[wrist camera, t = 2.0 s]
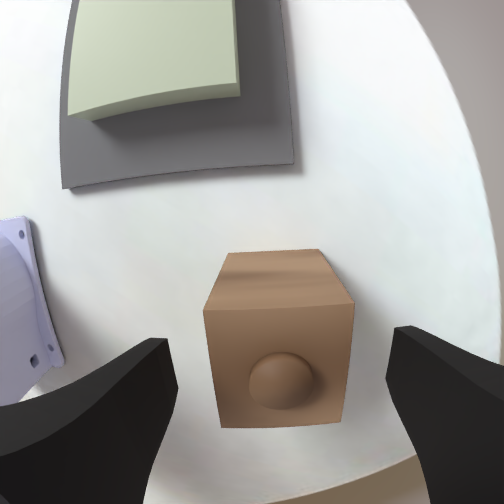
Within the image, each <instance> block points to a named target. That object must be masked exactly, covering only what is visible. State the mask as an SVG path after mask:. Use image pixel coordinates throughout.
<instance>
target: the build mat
mask: <svg viewBox="0 0 504 504" xmlns="http://www.w3.org/2000/svg"><path fill="white" fill-rule="evenodd" d="M79 1H80V0H72V5H71V10H70V15H69V20H68V26H67V33H66V39H65V47H64V55H63V65H62V76H61V91H60V164H61V180H62V189H68V188H73V187H78V186H84V185H89V184H95V183H101V182H107V181H114V180H120V179H127V178H134V177H141V176H149V175H157V174H165V173H174V172H183V171H193V170H204V169H215V168H228V167H242V166H259V165H281V164H294V157H293V141H292V126H291V112H290V99H289V86H288V75H287V64H286V54H285V44H284V35H283V26H282V17H281V8H280V0H235V10H236V28H237V45H238V62H239V79H240V96H237V97H225V98H215V99H206V100H198V101H190V102H183V103H177V104H170V105H164V106H158V107H153V108H147V109H142V110H137V111H132V112H127V113H123V114H118V115H114V116H110V117H106V118H102V119H98V120H94V121H88V120H84V119H80V118H76V117H71V116H68V90H69V74H70V62H71V52H72V44H73V36H74V29H75V23H76V17H77V11H78V6H79Z"/></svg>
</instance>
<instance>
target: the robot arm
mask: <svg viewBox="0 0 504 504" xmlns="http://www.w3.org/2000/svg"><path fill="white" fill-rule="evenodd" d="M23 232H24V234H25V237H24V235H23ZM52 346H53V347H52ZM63 365H64V358H63V355H62V353H61V350H60V347H59V344H58V341H57V338H56V335H55V332H54V329H53V326H52V322H51V319H50V316H49V312H48V309H47V305H46V301H45V298H44V294H43V290H42V286H41V281H40V277H39V273H38V268H37V263H36V258H35V253H34V248H33V242H32V236H31V229H30V223H29V220H28V218H27V217H25V216H20V217H15V218H10V219H4V220H0V504H143V500H144V496H145V491H146V487H147V483H148V478H149V475H150V472H151V469H152V465H153V463H154V460H155V458H156V455H157V453H158V450H159V447H160V445H161V442H162V440H163V437H164V435H165V432H166V430H167V427H168V424H169V422H170V419H171V417H172V414H173V410H174V406H175V402H176V397H177V392H178V384H177V380H176V376H175V372H174V367H173V363H172V358H171V354H170V349H169V344H168V339H167V338H149V339H146V340H145V341H143V342H141V343H139V344H138V345H136V346H134V347H133V348H131V349H130V350H128V351H126V352H125V353H123V354H122V355H120V356H118V357H117V358H115V359H114V360H112V361H110V362H109V363H107V364H106V365H104V366H102V367H100V368H99V369H97V370H95V371H93V372H92V373H90V374H88V375H86V376H84V377H83V378H81V379H79V380H77V381H75V382H73V383H71V384H69V385H67V386H64V387H62V388H60V389H57V390H55V391H52V392H50V393H47V394H44V395H41V396H38V397H35V398H32V399H29V400H25V401H22V402H19V401H20V400H21V399H22V398H23V396H24V395H25V394H26V393H27V392H28V391H29V390H30V389H31V388H32V387H33V386H34V385H35V384H36V382H37V381H38V380H39V379H40V378H41V377H42V376H43V375H44V374H45V373H46V372H47V371H48V370H49V369H50V368H51V367H52V366H53V367H58V368H61V367H62V366H63ZM385 379H386V382H387V385H388V389H389V392H390V395H391V398H392V401H393V404H394V406H395V408H396V410H397V412H398V414H399V416H400V418H401V421H402V423H403V425H404V427H405V429H406V431H407V433H408V435H409V437H410V439H411V442H412V444H413V446H414V448H415V450H416V453H417V455H418V457H419V460H420V463H421V467H422V470H423V473H424V477H425V481H426V484H427V489H428V494H429V498H430V503H431V504H504V366H502V365H499V364H496V363H493V362H491V361H488V360H486V359H483V358H481V357H478V356H476V355H474V354H471V353H469V352H467V351H465V350H463V349H461V348H459V347H456V346H454V345H452V344H450V343H448V342H446V341H444V340H442V339H440V338H438V337H436V336H434V335H432V334H430V333H428V332H426V331H424V330H422V329H419V328H417V327H414V326H403V327H396V328H394V335H393V341H392V347H391V352H390V358H389V363H388V368H387V373H386V378H385Z"/></svg>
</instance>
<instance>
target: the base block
mask: <svg viewBox="0 0 504 504" xmlns="http://www.w3.org/2000/svg"><path fill="white" fill-rule="evenodd" d="M237 96H240V79H239V62H238V45H237V28H236V10H235V0H80V1H79V6H78V11H77V17H76V23H75V29H74V36H73V44H72V52H71V62H70V74H69V90H68V116H71V117H76V118H80V119H84V120H88V121H94V120H98V119H102V118H106V117H110V116H114V115H118V114H123V113H127V112H132V111H137V110H142V109H147V108H153V107H158V106H164V105H170V104H177V103H183V102H190V101H198V100H206V99H215V98H225V97H237Z"/></svg>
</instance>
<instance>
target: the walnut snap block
mask: <svg viewBox="0 0 504 504" xmlns="http://www.w3.org/2000/svg"><path fill="white" fill-rule="evenodd" d="M354 307H355V303H354V301H353V300H352V298H351V297H350V295H349V294H348V292H347V291H346V289H345V288H344V286H343V285H342V283H341V282H340V280H339V279H338V277H337V276H336V274H335V273H334V271H333V270H332V268H331V267H330V265H329V264H328V262H327V261H326V259H325V258H324V256H323V255H322V254H321V252H320V251H319V249H304V250H283V251H261V252H240V253H228V255H227V257H226V259H225V261H224V264H223V266H222V268H221V270H220V273H219V275H218V277H217V279H216V282H215V284H214V286H213V288H212V291H211V293H210V295H209V297H208V300H207V302H206V304H205V307H204V309H203V316H204V323H205V330H206V338H207V344H208V351H209V358H210V364H211V371H212V377H213V383H214V389H215V395H216V401H217V407H218V412H219V418H220V423H221V428H275V427H294V426H308V425H319V424H329V423H337V422H341V416H342V410H343V404H344V397H345V391H346V384H347V376H348V368H349V360H350V351H351V342H352V331H353V320H354Z"/></svg>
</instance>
